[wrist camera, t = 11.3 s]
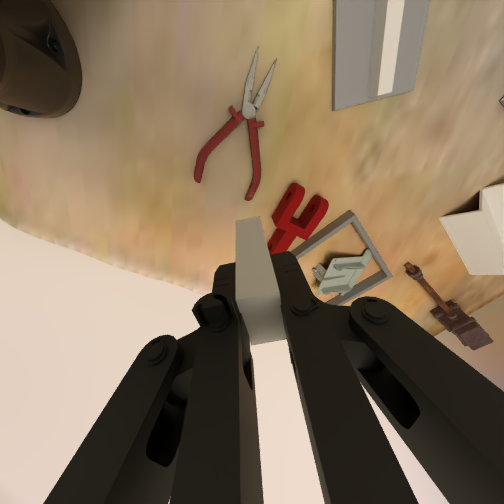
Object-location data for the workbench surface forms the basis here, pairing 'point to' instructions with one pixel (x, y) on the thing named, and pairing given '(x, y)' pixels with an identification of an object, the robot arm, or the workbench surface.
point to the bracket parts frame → (352, 219)
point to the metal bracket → (341, 274)
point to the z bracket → (480, 233)
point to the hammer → (453, 316)
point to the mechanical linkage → (292, 226)
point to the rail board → (361, 47)
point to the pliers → (237, 118)
